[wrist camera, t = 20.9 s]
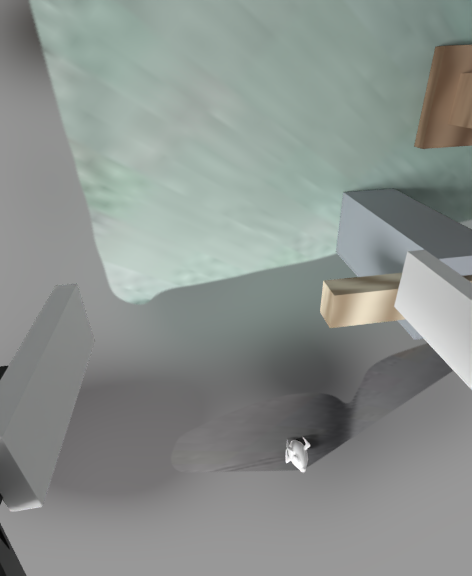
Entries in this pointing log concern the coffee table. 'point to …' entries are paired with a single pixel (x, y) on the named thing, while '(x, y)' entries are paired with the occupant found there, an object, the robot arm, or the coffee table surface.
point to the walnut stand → (447, 100)
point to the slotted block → (398, 235)
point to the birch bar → (361, 300)
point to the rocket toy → (297, 454)
